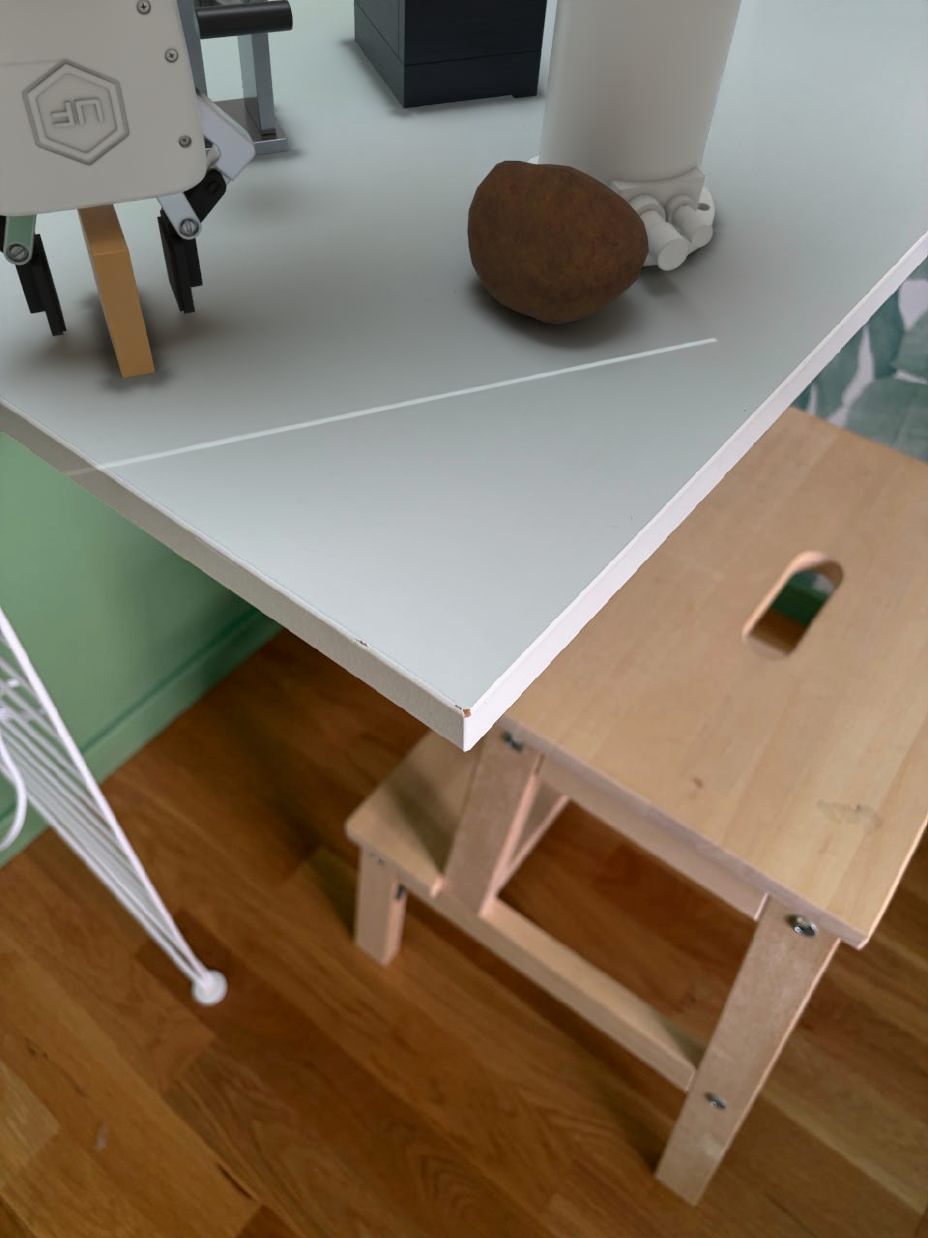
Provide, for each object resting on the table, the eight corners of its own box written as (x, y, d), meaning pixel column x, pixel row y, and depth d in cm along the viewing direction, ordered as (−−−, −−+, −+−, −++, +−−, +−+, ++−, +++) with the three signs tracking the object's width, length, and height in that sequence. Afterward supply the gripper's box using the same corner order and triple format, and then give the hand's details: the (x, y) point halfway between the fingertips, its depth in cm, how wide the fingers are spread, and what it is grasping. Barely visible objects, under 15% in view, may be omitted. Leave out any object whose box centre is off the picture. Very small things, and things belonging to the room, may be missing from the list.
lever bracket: (288, 153, 66) (276, -16, 58) (195, 166, 64) (169, -7, 56) (264, 110, 69) (249, -56, 61) (175, 121, 67) (148, -48, 60)
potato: (485, 252, 60) (497, 117, 54) (647, 297, 58) (678, 162, 52) (437, 321, 56) (444, 182, 49) (610, 371, 54) (639, 233, 48)
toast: (156, 375, 51) (128, 249, 46) (123, 381, 51) (92, 255, 45) (130, 296, 55) (102, 171, 50) (100, 301, 55) (68, 176, 49)
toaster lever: (295, 41, 55) (289, -11, 54) (203, 51, 54) (194, -2, 52) (255, 19, 63) (248, -28, 61) (172, 26, 61) (164, -21, 60)
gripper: (-244, -60, 33) (-56, 387, 47) (276, -94, 38) (306, 322, 52) (-239, -136, 37) (-68, 295, 52) (228, -159, 42) (268, 242, 56)
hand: (119, 305), depth 52 cm, fingers open, 5 cm apart
